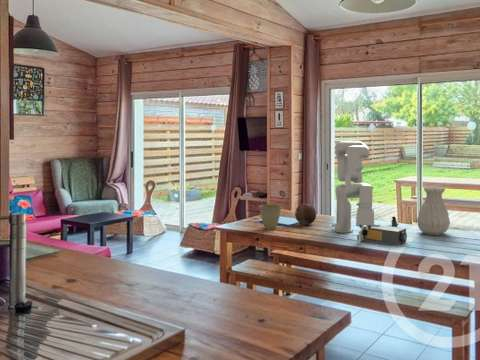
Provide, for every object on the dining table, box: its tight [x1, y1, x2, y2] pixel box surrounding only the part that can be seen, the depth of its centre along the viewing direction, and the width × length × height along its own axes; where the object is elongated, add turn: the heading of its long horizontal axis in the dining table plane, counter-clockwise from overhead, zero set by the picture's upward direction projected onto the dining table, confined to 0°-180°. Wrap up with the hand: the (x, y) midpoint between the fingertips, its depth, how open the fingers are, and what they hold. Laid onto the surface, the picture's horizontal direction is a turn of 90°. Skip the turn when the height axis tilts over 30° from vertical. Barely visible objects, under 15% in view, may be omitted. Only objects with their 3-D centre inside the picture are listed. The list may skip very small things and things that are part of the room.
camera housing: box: [362, 223, 408, 246], centre depth 296 cm, size 24×12×9 cm, turn 47°
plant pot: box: [259, 203, 282, 231], centre depth 332 cm, size 15×15×16 cm
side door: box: [356, 227, 363, 245], centre depth 293 cm, size 14×2×7 cm, turn 160°
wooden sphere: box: [294, 203, 317, 226], centre depth 347 cm, size 15×15×15 cm
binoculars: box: [390, 216, 399, 227], centre depth 318 cm, size 9×11×10 cm
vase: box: [416, 186, 451, 236], centre depth 315 cm, size 20×20×30 cm
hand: (364, 236), depth 289 cm, fingers closed
